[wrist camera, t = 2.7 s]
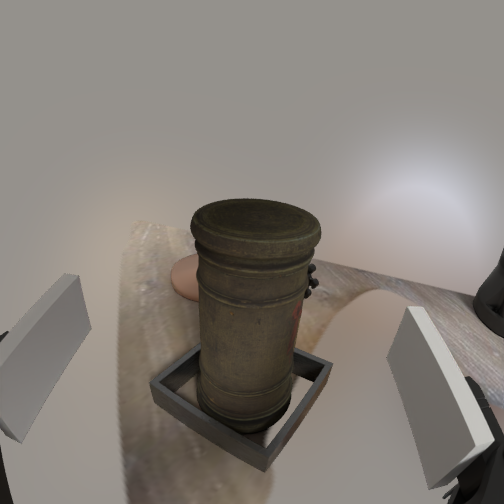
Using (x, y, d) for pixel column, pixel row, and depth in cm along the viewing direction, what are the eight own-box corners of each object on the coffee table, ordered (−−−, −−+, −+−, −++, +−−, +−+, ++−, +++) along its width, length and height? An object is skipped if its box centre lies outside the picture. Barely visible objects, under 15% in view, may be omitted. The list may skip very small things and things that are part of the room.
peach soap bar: (206, 254, 55) (206, 246, 54) (266, 276, 49) (267, 268, 48) (155, 281, 46) (154, 273, 45) (218, 314, 40) (218, 304, 39)
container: (230, 450, 23) (237, 259, 15) (180, 383, 29) (166, 205, 21) (309, 405, 28) (355, 228, 20) (254, 352, 34) (269, 190, 26)
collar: (229, 338, 36) (230, 318, 35) (326, 383, 30) (333, 363, 29) (154, 402, 26) (149, 382, 25) (264, 472, 21) (268, 457, 20)
